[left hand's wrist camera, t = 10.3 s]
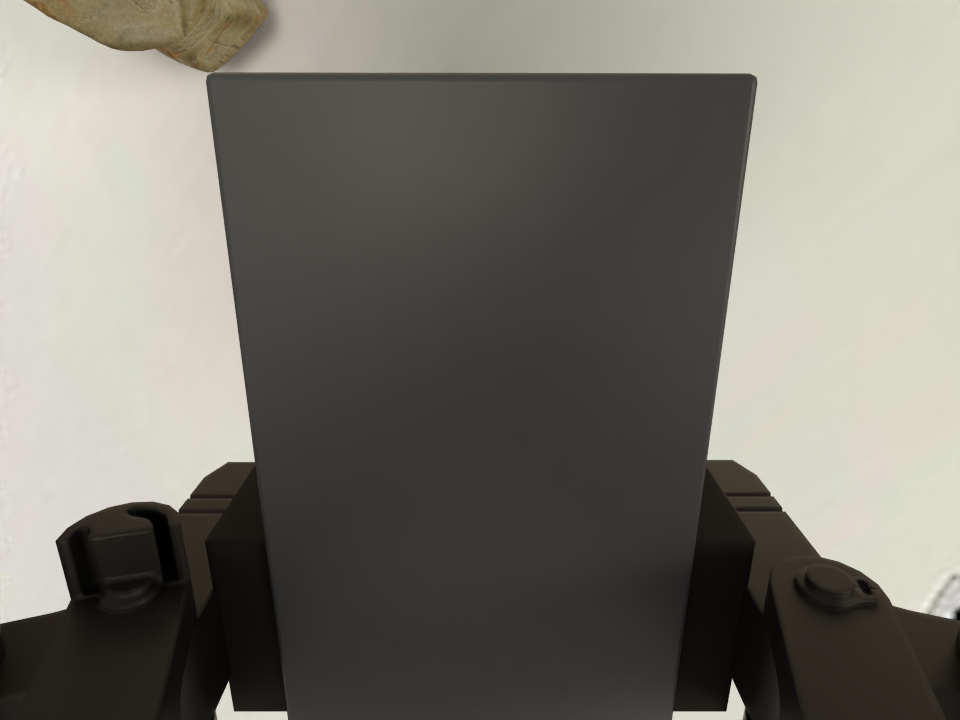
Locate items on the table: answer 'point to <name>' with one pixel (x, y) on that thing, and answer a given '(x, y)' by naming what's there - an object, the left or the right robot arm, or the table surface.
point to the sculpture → (164, 26)
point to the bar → (480, 377)
